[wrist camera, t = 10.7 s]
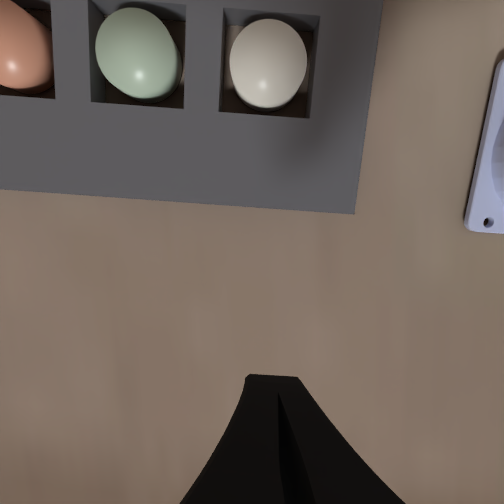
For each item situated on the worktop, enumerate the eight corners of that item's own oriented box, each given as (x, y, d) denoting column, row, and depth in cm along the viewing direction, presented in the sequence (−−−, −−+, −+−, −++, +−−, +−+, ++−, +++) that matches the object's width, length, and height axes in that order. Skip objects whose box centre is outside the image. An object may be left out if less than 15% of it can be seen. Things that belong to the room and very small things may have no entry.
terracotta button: (60, 19, 15) (35, -1, 13) (63, 96, 15) (40, 86, 14) (-13, 13, 15) (-46, -8, 13) (-6, 91, 15) (-37, 80, 14)
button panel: (381, -68, 14) (396, -96, 13) (345, 211, 17) (354, 214, 15) (-92, -110, 14) (-132, -144, 12) (-55, 182, 16) (-85, 183, 15)
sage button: (183, 29, 15) (174, 11, 13) (181, 105, 16) (172, 96, 14) (111, 24, 15) (94, 4, 13) (113, 100, 15) (96, 90, 14)
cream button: (304, 39, 15) (310, 22, 13) (297, 114, 16) (302, 106, 14) (234, 33, 15) (231, 15, 13) (230, 109, 16) (227, 100, 14)
